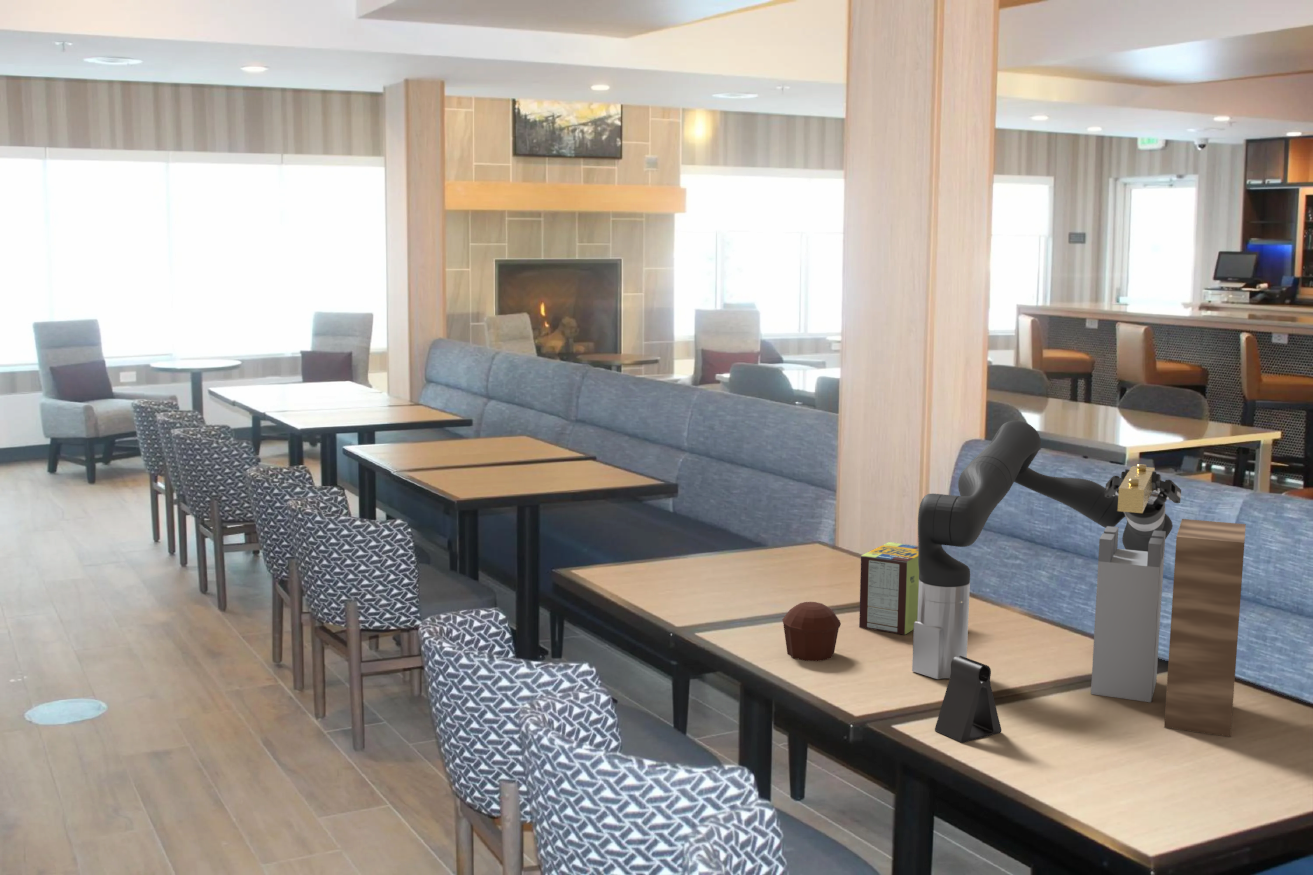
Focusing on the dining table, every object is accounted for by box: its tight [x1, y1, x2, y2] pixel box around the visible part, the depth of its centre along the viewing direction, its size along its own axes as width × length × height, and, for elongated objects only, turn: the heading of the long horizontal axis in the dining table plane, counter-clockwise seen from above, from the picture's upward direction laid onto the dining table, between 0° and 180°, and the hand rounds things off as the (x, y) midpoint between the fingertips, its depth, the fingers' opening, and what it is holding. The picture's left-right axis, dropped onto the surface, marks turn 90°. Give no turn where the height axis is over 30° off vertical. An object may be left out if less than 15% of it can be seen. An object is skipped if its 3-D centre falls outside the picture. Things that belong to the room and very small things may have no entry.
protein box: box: [858, 541, 919, 636], centre depth 272 cm, size 10×15×16 cm
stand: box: [1164, 518, 1246, 738], centre depth 216 cm, size 16×10×32 cm, turn 155°
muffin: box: [781, 601, 842, 662], centre depth 251 cm, size 12×11×10 cm
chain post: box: [1090, 526, 1166, 703], centre depth 231 cm, size 12×10×28 cm
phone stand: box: [934, 656, 1002, 744], centre depth 210 cm, size 9×6×12 cm, turn 121°
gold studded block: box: [1118, 463, 1156, 513], centre depth 230 cm, size 24×4×5 cm, turn 155°
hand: (1140, 475), depth 235 cm, fingers closed on gold studded block, 4 cm apart
